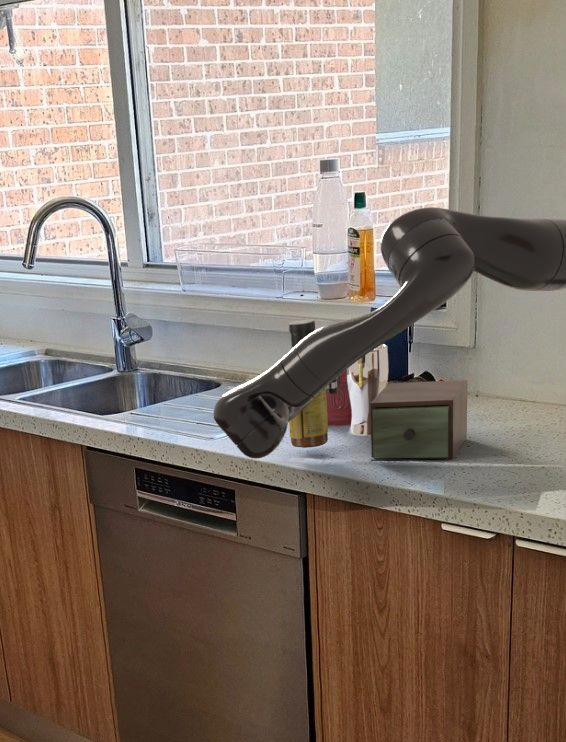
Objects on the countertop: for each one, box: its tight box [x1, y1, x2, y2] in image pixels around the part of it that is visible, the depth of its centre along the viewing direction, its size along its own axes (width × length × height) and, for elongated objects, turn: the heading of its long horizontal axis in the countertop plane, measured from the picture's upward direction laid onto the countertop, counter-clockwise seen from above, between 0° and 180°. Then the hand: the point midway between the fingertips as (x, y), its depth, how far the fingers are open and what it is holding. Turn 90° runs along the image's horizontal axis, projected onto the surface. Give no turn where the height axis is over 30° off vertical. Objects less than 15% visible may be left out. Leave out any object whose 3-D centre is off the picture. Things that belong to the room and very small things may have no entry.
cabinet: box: [370, 379, 468, 462], centre depth 198 cm, size 15×13×10 cm
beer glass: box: [346, 343, 389, 437], centre depth 210 cm, size 7×7×15 cm
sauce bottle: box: [288, 319, 329, 449], centre depth 198 cm, size 7×6×20 cm
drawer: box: [373, 405, 449, 460], centre depth 196 cm, size 15×11×8 cm
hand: (308, 374), depth 199 cm, fingers closed on sauce bottle, 6 cm apart
